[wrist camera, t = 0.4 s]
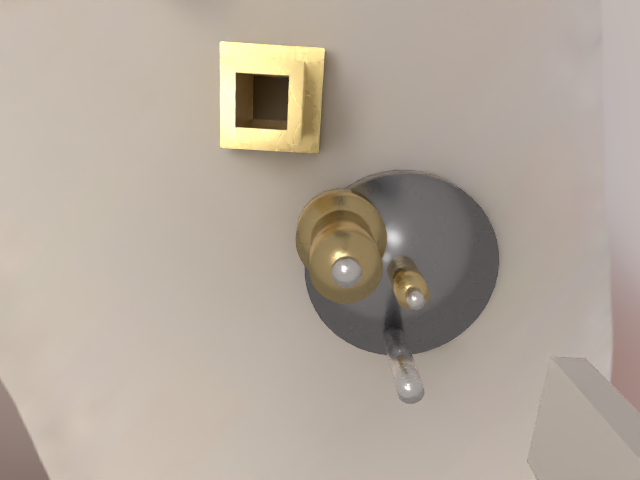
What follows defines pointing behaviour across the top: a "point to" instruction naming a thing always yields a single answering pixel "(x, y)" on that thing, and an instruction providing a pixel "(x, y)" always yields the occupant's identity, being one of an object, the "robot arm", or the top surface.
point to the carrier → (398, 265)
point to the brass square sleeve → (302, 100)
